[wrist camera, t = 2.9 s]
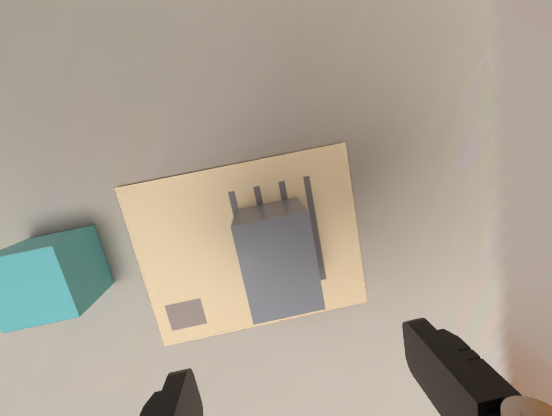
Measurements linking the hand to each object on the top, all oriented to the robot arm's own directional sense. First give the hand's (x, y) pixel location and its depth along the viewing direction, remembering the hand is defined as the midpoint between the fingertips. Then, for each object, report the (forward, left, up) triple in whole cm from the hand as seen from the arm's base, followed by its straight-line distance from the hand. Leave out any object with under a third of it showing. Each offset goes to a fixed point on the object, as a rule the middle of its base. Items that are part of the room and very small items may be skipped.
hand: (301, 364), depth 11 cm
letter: (0, -2, -14) cm, 14 cm away
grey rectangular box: (0, 0, -13) cm, 13 cm away
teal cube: (-2, -16, -14) cm, 21 cm away
